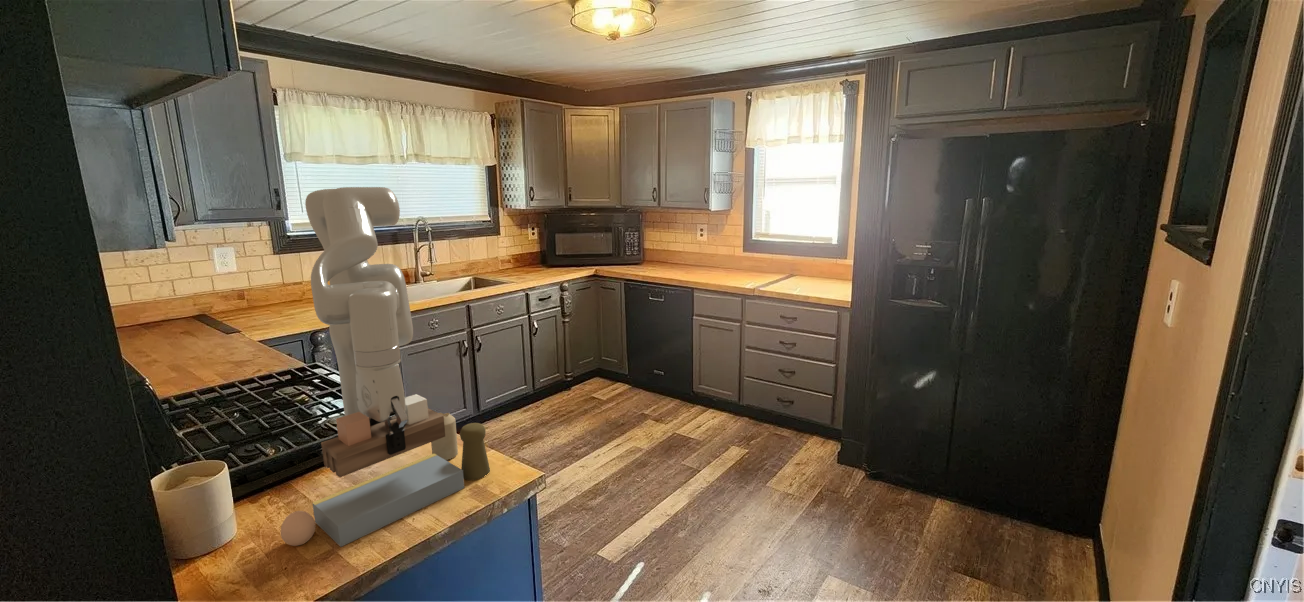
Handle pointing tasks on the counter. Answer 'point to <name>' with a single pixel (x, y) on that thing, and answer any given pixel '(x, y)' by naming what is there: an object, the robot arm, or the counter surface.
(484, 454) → the olive pepper mill
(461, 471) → the block
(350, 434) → the salmon pink cube
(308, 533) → the egg
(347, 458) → the brown wooden bar
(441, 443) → the candle
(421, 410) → the white cube
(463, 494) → the counter surface
